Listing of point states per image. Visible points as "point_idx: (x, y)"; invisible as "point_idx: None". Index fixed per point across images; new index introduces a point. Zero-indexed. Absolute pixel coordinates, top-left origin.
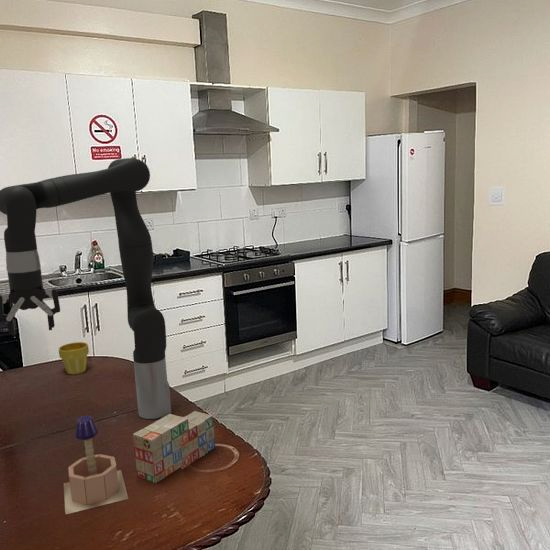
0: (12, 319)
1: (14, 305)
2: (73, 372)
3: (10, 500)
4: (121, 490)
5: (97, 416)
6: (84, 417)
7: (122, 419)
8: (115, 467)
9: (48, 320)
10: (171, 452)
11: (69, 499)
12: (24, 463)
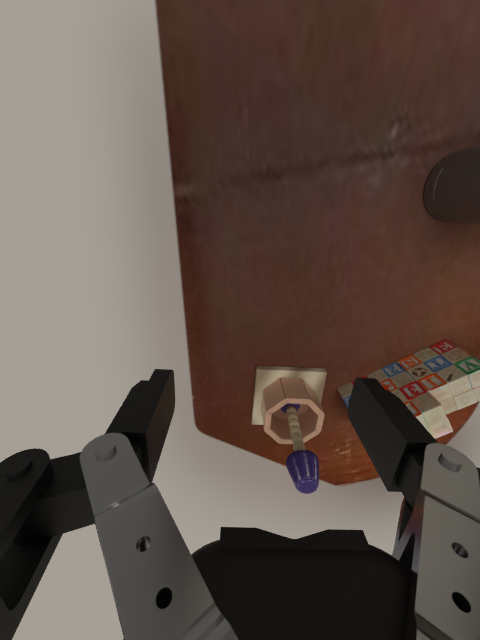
0: (140, 455)
1: (119, 577)
2: None
3: (195, 362)
4: None
5: (354, 135)
6: (308, 485)
7: (391, 184)
8: (318, 432)
9: (377, 465)
10: None
11: (258, 402)
12: (209, 275)
